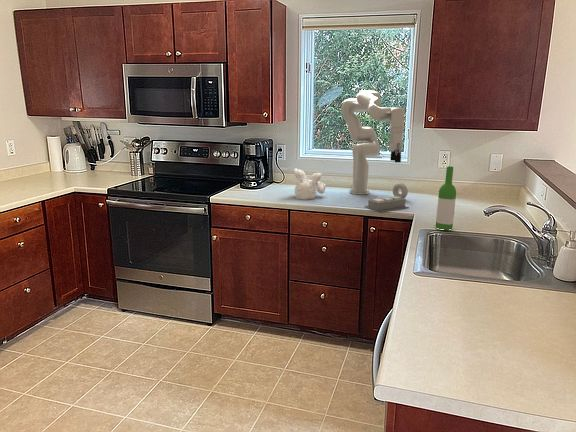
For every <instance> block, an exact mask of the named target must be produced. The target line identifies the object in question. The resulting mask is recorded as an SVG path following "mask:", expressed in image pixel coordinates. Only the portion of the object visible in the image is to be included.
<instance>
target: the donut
mask: <svg viewBox="0 0 576 432" xmlns="http://www.w3.org/2000/svg"><path fill="white" fill-rule="evenodd" d="M399 189H400V190H401V193H400V192H399ZM408 193H409V191H408V188H407V186H406V185H405V184H404V183H401V182H398V183H396V184H395V185H393V187H392V194H393V196H398V197H401V198H404V199H406V198H407V196H408Z"/></svg>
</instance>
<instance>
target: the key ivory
mask: <svg viewBox="0 0 576 432" xmlns="http://www.w3.org/2000/svg"><path fill="white" fill-rule="evenodd" d="M372 200H373V201H375V202H378V203H379V202H384V200H382V199H379V198H373V199H372Z"/></svg>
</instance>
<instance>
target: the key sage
mask: <svg viewBox="0 0 576 432" xmlns="http://www.w3.org/2000/svg"><path fill="white" fill-rule="evenodd" d="M389 197H390V198H392V199H395V200H398V199H401V197H398V196H394V195H393V196H389Z"/></svg>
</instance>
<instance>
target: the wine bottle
mask: <svg viewBox="0 0 576 432" xmlns="http://www.w3.org/2000/svg"><path fill="white" fill-rule="evenodd" d="M445 171H446V173H445V179H444V180H445V181H444V184H442V185H441V186H440V188H439V190H438V199H437V205H436V206H437V208H436V217H435V229H436V228H439V229H444V230H449V229H453V227H454V225H453V224H454V217H455V207H456V198H457V197H456V196H457V188H456V187H455V186H454V184H453V177H454V176H453V175H454V166H452V165H451V166H450V165H449V166H446V170H445Z"/></svg>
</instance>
